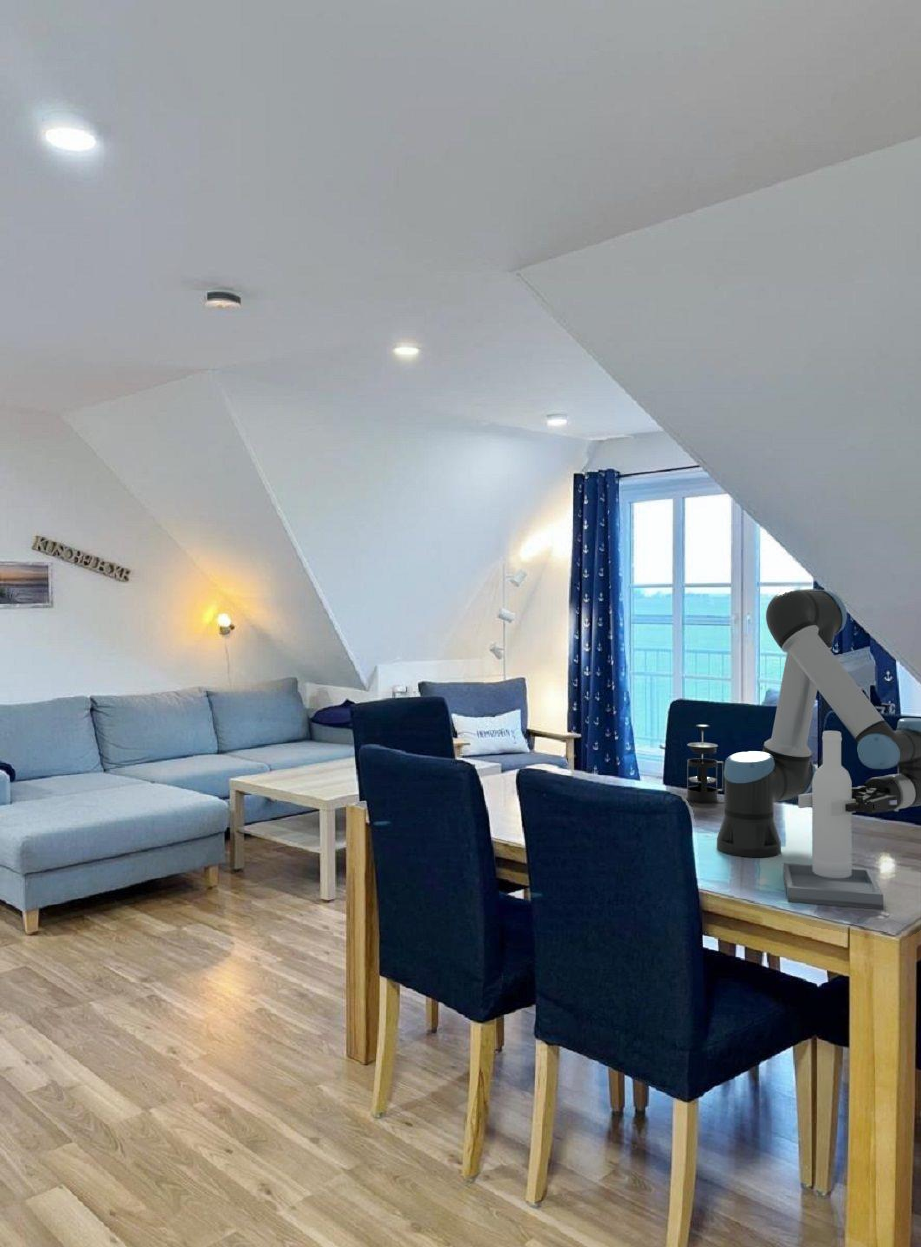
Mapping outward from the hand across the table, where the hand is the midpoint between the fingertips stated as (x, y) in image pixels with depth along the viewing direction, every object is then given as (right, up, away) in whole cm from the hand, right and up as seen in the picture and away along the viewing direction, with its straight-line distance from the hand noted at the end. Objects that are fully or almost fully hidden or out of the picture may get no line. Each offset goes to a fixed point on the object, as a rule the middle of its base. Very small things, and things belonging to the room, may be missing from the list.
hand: (816, 805), depth 198 cm
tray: (+4, -19, +3) cm, 20 cm away
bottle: (+4, -15, +3) cm, 16 cm away
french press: (0, -16, +92) cm, 93 cm away
